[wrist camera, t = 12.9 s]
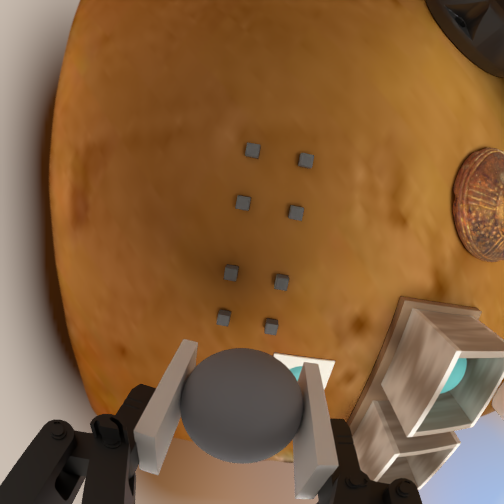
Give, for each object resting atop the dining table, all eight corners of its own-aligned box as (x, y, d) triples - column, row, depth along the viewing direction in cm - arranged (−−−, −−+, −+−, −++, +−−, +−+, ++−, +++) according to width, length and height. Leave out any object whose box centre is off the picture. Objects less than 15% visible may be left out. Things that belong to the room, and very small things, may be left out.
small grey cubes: (248, 144, 22) (247, 142, 21) (312, 156, 22) (314, 155, 21) (218, 319, 26) (216, 324, 25) (275, 329, 26) (275, 335, 25)
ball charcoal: (199, 317, 14) (164, 386, 8) (310, 336, 14) (329, 413, 8) (191, 397, 15) (166, 469, 10) (284, 414, 15) (287, 489, 10)
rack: (400, 296, 24) (449, 342, 15) (476, 308, 24) (525, 344, 15) (332, 447, 29) (343, 503, 20) (404, 444, 29) (424, 490, 20)
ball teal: (418, 326, 24) (445, 355, 18) (457, 330, 24) (485, 355, 18) (398, 373, 25) (418, 406, 20) (437, 373, 25) (459, 402, 20)
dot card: (274, 352, 26) (274, 354, 26) (334, 360, 26) (335, 362, 26) (254, 422, 28) (254, 424, 28) (306, 428, 28) (306, 430, 28)
